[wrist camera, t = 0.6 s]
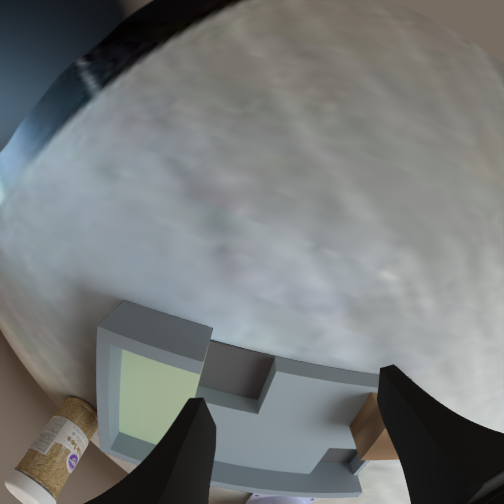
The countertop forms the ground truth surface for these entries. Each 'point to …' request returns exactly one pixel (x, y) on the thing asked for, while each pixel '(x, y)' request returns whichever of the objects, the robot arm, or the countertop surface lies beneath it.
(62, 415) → the sprinkles bottle
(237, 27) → the countertop surface
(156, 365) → the grey pocketed tray
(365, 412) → the block
